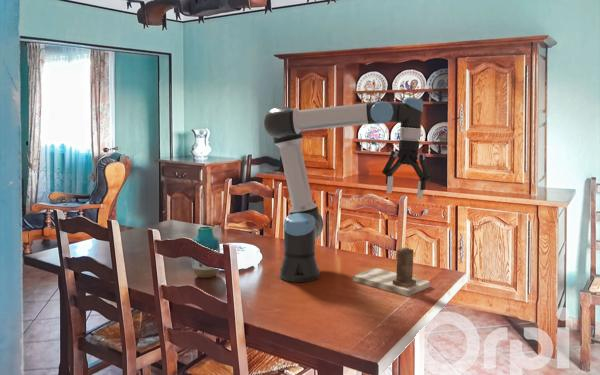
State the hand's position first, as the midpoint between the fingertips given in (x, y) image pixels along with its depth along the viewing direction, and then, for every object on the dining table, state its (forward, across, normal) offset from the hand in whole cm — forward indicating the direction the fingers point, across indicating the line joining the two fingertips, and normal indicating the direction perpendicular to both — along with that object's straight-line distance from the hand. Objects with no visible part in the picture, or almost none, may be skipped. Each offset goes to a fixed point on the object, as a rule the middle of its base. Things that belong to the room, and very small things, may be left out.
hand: (403, 195), depth 206 cm
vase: (+36, +50, +53) cm, 81 cm away
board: (+31, -5, +11) cm, 34 cm away
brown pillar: (+29, -12, +13) cm, 34 cm away
